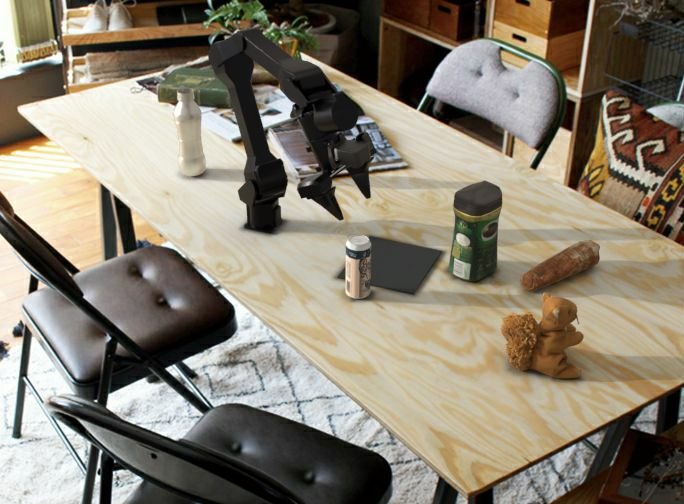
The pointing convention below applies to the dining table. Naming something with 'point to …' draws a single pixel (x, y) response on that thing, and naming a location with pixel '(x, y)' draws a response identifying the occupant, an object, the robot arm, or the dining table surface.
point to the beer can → (358, 266)
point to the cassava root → (562, 265)
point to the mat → (398, 264)
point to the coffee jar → (475, 231)
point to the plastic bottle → (189, 134)
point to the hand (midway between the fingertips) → (355, 209)
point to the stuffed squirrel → (543, 338)
